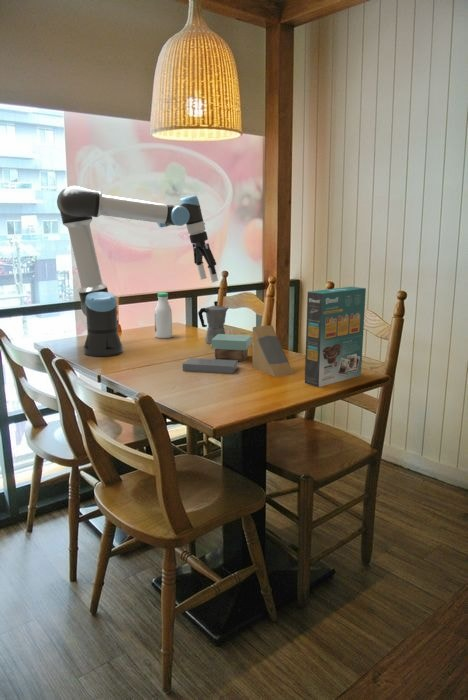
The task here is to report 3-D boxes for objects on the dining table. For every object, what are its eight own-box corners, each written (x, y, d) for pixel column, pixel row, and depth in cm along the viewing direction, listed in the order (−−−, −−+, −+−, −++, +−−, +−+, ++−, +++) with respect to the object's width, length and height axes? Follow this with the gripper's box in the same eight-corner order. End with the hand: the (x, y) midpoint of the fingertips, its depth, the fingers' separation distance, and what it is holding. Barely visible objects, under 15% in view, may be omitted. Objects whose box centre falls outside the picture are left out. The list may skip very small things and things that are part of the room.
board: (182, 370, 198) (182, 363, 198) (189, 364, 207) (189, 357, 206) (232, 373, 195) (232, 366, 194) (237, 367, 204) (237, 360, 203)
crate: (215, 359, 214) (215, 341, 213) (220, 354, 223) (220, 337, 221) (243, 361, 212) (243, 343, 211) (247, 355, 221) (247, 338, 219)
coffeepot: (222, 338, 252) (222, 298, 248) (234, 342, 245) (234, 301, 240) (192, 343, 243) (192, 301, 239) (204, 346, 236) (204, 304, 232)
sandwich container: (274, 377, 191) (275, 334, 187) (251, 367, 204) (252, 326, 200) (295, 374, 195) (296, 332, 192) (271, 364, 208) (272, 324, 205)
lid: (211, 348, 212) (211, 339, 212) (218, 342, 223) (218, 333, 222) (246, 350, 210) (246, 341, 209) (251, 344, 221) (251, 335, 220)
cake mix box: (346, 371, 198) (351, 286, 191) (360, 375, 194) (365, 288, 187) (304, 383, 184) (307, 291, 177) (318, 387, 180) (322, 293, 173)
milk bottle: (175, 336, 256) (174, 292, 252) (165, 339, 250) (164, 294, 246) (162, 334, 260) (161, 291, 256) (151, 337, 254) (150, 293, 250)
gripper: (216, 230, 233) (228, 280, 239) (195, 230, 255) (206, 275, 261) (199, 235, 230) (212, 285, 237) (180, 234, 252) (191, 280, 259)
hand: (209, 280), depth 249 cm, fingers open, 13 cm apart
